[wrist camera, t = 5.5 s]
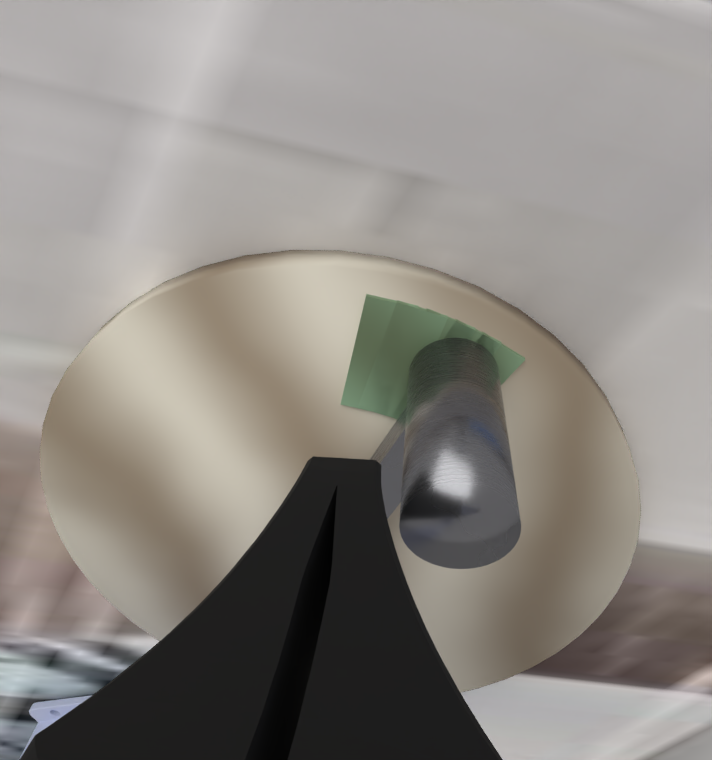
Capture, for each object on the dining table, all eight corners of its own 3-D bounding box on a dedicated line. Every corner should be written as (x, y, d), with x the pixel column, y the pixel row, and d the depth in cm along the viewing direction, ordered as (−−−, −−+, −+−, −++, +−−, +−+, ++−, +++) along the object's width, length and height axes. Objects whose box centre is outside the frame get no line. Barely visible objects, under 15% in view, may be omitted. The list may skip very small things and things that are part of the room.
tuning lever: (348, 589, 23) (327, 749, 18) (270, 557, 22) (228, 714, 18) (526, 367, 17) (559, 520, 13) (427, 318, 17) (423, 459, 12)
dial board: (216, 701, 31) (209, 725, 30) (-69, 355, 21) (-92, 375, 20) (666, 648, 25) (675, 675, 24) (570, 145, 15) (578, 158, 14)
